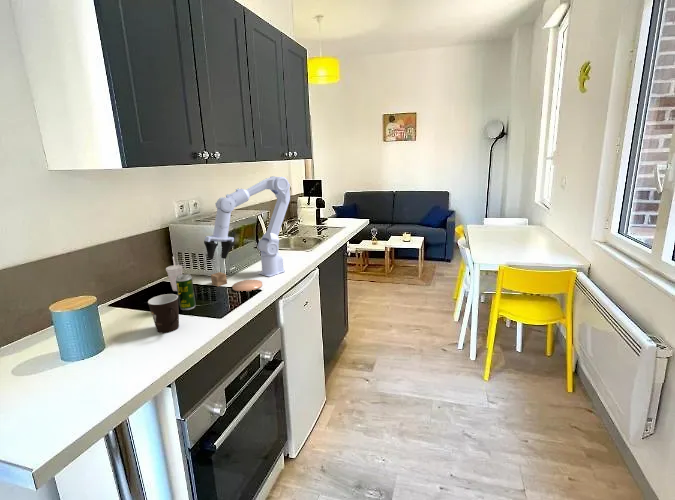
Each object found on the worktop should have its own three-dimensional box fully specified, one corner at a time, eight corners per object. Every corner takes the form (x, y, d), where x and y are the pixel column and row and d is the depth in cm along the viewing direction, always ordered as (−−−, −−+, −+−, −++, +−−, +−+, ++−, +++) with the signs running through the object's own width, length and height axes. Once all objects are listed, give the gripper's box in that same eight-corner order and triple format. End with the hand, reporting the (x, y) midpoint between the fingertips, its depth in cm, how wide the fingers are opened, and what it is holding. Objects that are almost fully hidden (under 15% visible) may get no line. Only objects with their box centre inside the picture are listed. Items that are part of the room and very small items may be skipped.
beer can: (183, 305, 134) (178, 274, 131) (198, 304, 134) (193, 273, 131) (177, 311, 129) (172, 279, 126) (193, 310, 129) (188, 278, 126)
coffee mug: (153, 325, 118) (148, 297, 115) (182, 320, 121) (178, 292, 118) (151, 341, 107) (146, 310, 105) (183, 335, 111) (178, 304, 108)
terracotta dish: (250, 280, 158) (250, 277, 158) (268, 285, 151) (268, 283, 151) (226, 288, 150) (226, 285, 149) (244, 294, 142) (244, 291, 142)
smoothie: (188, 286, 153) (184, 254, 150) (181, 292, 147) (175, 259, 143) (174, 286, 154) (169, 254, 150) (166, 292, 148) (160, 259, 144)
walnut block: (221, 281, 158) (220, 272, 157) (227, 283, 155) (226, 273, 154) (212, 284, 155) (210, 274, 154) (217, 286, 152) (216, 276, 151)
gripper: (226, 225, 158) (222, 256, 159) (201, 223, 145) (196, 257, 146) (239, 228, 155) (234, 259, 156) (214, 227, 142) (209, 261, 143)
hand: (217, 258), depth 151 cm, fingers open, 7 cm apart
